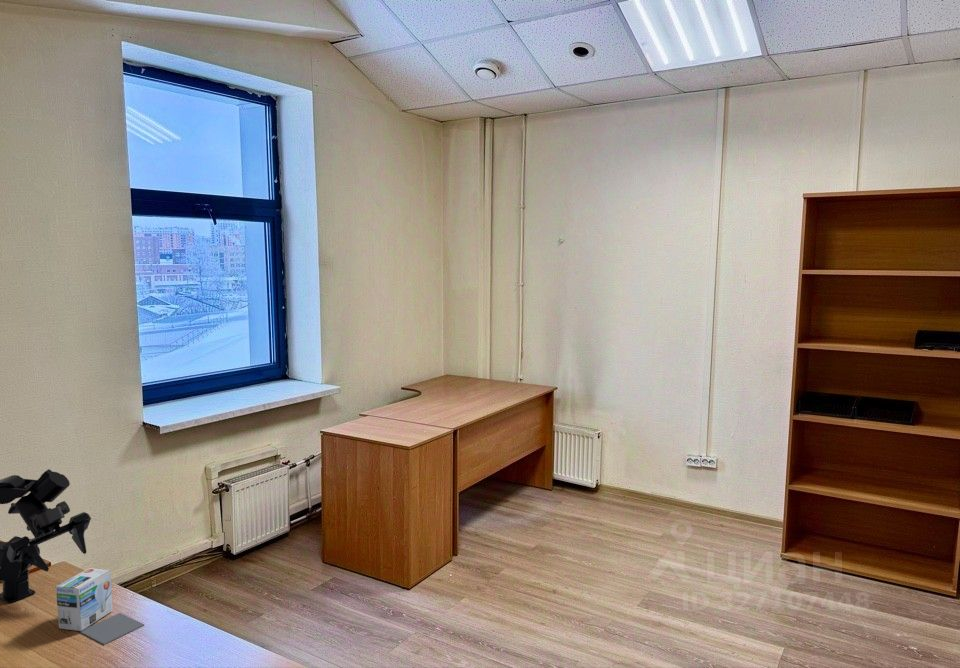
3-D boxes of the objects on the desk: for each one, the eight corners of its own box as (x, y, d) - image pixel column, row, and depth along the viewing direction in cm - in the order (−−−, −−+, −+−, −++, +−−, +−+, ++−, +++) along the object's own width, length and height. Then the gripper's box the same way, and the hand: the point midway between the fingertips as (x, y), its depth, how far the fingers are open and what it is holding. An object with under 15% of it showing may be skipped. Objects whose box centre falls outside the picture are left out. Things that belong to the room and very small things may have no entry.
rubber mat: (79, 632, 160) (79, 631, 160) (119, 613, 169) (119, 612, 169) (104, 645, 155) (104, 643, 155) (144, 625, 164) (144, 624, 164)
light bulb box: (81, 632, 160) (78, 588, 159) (57, 629, 161) (54, 586, 160) (114, 609, 170) (111, 569, 169) (91, 607, 171) (88, 567, 170)
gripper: (0, 512, 162) (32, 562, 158) (79, 482, 177) (110, 527, 173) (-6, 537, 167) (24, 586, 163) (71, 506, 183) (101, 550, 179)
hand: (67, 561), depth 169 cm, fingers open, 9 cm apart
